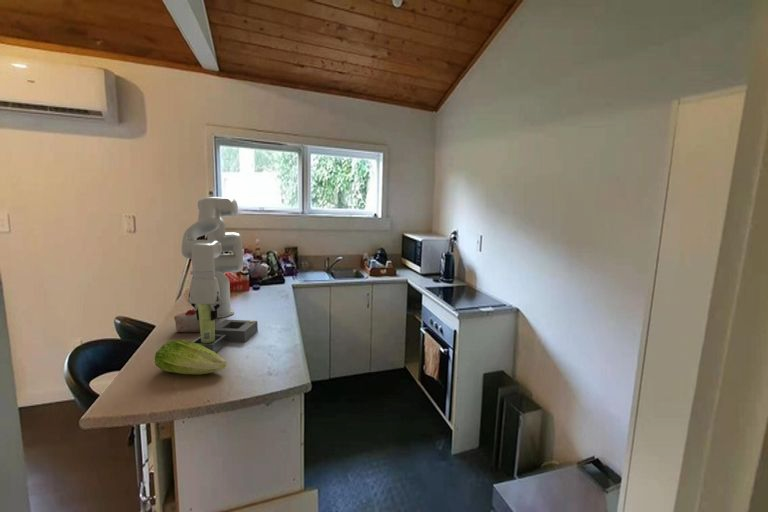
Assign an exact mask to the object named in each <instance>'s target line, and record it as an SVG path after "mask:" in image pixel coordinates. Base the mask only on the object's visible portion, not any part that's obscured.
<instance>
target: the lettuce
mask: <svg viewBox="0 0 768 512" xmlns="http://www.w3.org/2000/svg"><path fill="white" fill-rule="evenodd" d="M154 364H155V366H156V367H158V369H160V370H162V371H164V372H165V373H166V372H168V373H174V374H181V375H205V374H211V373H216V372H218V371H222V370H224V369H225V368H226V367H227V361H226V360H225V359H224V358H223V357H222V356H220V355H219V354H218V353H217V352H216V353H215V352H213V351H211V350H210V349H208V348H206V347H204V346H202V345H200V344H196V343H193V342H192V341H189V340H183V339H174V340H171V341H167V342H165V343H164V344H163V345H162V346H161V347H160V348H159V349H158V350H157V351H156V352H155V354H154Z"/></svg>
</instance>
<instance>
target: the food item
mask: <svg viewBox="0 0 768 512" xmlns="http://www.w3.org/2000/svg"><path fill="white" fill-rule="evenodd" d="M173 319H174V322H175V330H176V333H177V332H186V333H201V332H200V321H199V320H197V316H196V310H195V309H194V308H192V309H189V310H187V311H186V312H178V313H176V315H175V316H174V317H173Z"/></svg>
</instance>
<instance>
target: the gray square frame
mask: <svg viewBox="0 0 768 512" xmlns="http://www.w3.org/2000/svg"><path fill="white" fill-rule="evenodd" d="M191 342H193V343H196V344H200V345H202V346H204V347H206V348H208V349H210V350H211V351H213V352H215V353H216V354H217V353H218V352H219V351H221V349H222V348H224V347H225V346H226V345H228V342H227V336H226V335H219V334H215V341H213V342H211V343H202V342H201V335H200V336H198V337H197V338H195V339H194V340H192V341H191Z"/></svg>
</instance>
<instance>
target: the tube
mask: <svg viewBox="0 0 768 512" xmlns="http://www.w3.org/2000/svg"><path fill="white" fill-rule="evenodd" d="M196 299H197V298H196ZM197 305H198V312H199V321H200V332H199V333H200V336H201V342H202V343H211V342H213V341H215V326H216V324H215V323H216V322H215V320H216V319H215V320H213V321H211V313H210V312H211V311H212V309H211V306H210V305H208V304H197Z"/></svg>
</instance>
